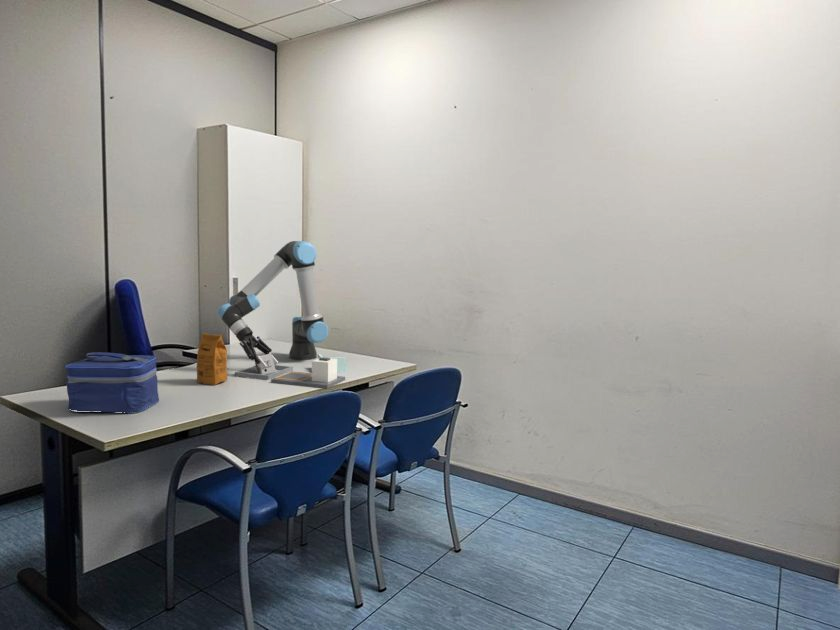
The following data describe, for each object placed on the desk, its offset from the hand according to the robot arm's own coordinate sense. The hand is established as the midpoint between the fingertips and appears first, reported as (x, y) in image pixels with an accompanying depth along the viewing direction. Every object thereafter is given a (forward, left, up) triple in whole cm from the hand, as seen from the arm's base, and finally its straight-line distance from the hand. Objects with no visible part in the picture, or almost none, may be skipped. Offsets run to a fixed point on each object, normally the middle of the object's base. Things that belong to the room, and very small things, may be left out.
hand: (270, 366), depth 270 cm
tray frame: (0, -3, -4) cm, 5 cm away
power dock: (+6, +24, -4) cm, 25 cm away
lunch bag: (+71, -22, -4) cm, 74 cm away
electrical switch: (0, -3, -4) cm, 5 cm away
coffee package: (+25, -14, -4) cm, 29 cm away
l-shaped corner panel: (-20, +23, -4) cm, 30 cm away
